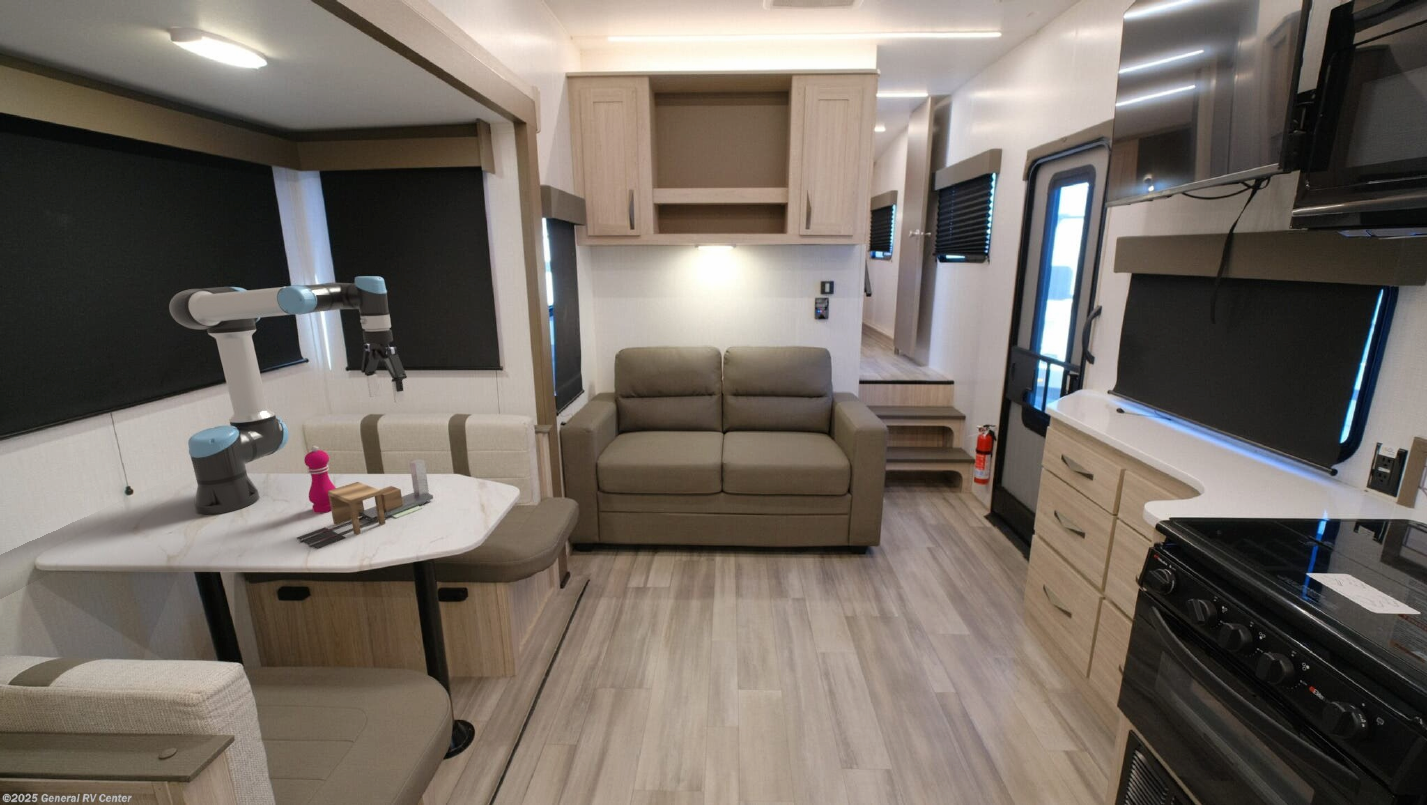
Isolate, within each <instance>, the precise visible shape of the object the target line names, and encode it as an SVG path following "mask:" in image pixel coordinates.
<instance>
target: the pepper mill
mask: <svg viewBox="0 0 1427 805" xmlns="http://www.w3.org/2000/svg"><path fill="white" fill-rule="evenodd" d="M310 450H311V451H309V452H308V453H306V455H305V456H304V462H303V463H304V464H305V466H307V467H308V468H307V470H308V473H309V474H310V476H311V485H310V488H309V492H308V500H309V502H310V503H312V505H311V506H312V510H313V512H314V513H316V514H325V513H329V512H332V511H331V506H330V500H329V495H328V491H330V490H333V489H336V486H335V485H334V484H333V482H332V481H331V479H330V477H329V470H330V467H329V464H328V463H329V462H330V456H329V454H328V453H327V452H326V451H324V450H320V448H319V446H317V445H313V446H311V448H310Z"/></svg>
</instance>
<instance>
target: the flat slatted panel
mask: <svg viewBox="0 0 1427 805" xmlns="http://www.w3.org/2000/svg"><path fill="white" fill-rule="evenodd" d="M328 529H329V528H327V527H325V526H324V527H322V528H319V529H316V530H313V531H310V532H308V533H305V534H302V535H300V536H297V537H296V539H297V540H301V539H303V538H306V537H309V536H312V535H314V534H317V533H320V532H322V531H325V530H328ZM336 534H339V533H338V532H336V531H335V530H333V531H332V530H330V531H328V532H325V533H322V534H320V535H317V536H314V537H312V538H309V539H306V540H303V542H302V543H305V544H307V545H309V544H312V543H315V542H317V541H320V540H323V539H325V538H328V537H331V536H333V535H336ZM346 538H347V537H346V536H345V535H339V536H336V537H333V538H331V539H328V540H325V541H323V542H320V543H318V544H315V545H312V546H313V548H315V549H317V550H319V549H321V548H324V547H326V546H327V547H328V546H329V545H331V544H333V543H337V542H339V541H342V540H345V539H346Z"/></svg>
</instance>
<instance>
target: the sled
mask: <svg viewBox="0 0 1427 805" xmlns="http://www.w3.org/2000/svg"><path fill="white" fill-rule="evenodd" d="M409 468H410V474H411V482H412V488H413V492H412V493H411V492H410V493H408V494H406V495H403V496H402V502H403V505H401V506H399V507H396V508H393V509H390V510H388V511H385V510H383V511H384V517H387V516H389V515H392V514H394V513H397V512H400V511H402V510H405V509H408V508H410V507H413V506H415V505H418V504H421V503H423V502H425V503H426V502H428V501H431V500H433V499H434V495H433V494H431V493H430V492H429V484H428V476H427V469H426V461H425V460H423V459H420V458H418V459H415V460H412V461H409ZM359 514H360V517H364V518H366V520H369V522H370V521H376V520H378V515H377V509H376V505H375V506H373V507H370V508H366V509H364V511H361V512H359Z"/></svg>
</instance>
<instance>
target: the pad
mask: <svg viewBox="0 0 1427 805" xmlns="http://www.w3.org/2000/svg"><path fill="white" fill-rule="evenodd" d="M422 509H423V507H422V506H421V505H420V506H415V507H412V508H409V509H407V510H404V511H402V512H399V513H396V514H394V515H391V517H392V518H395V519H399V518H401V517H403V516H406V515H410V514H411V513H414V512H416V511H419V510H422Z"/></svg>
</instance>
